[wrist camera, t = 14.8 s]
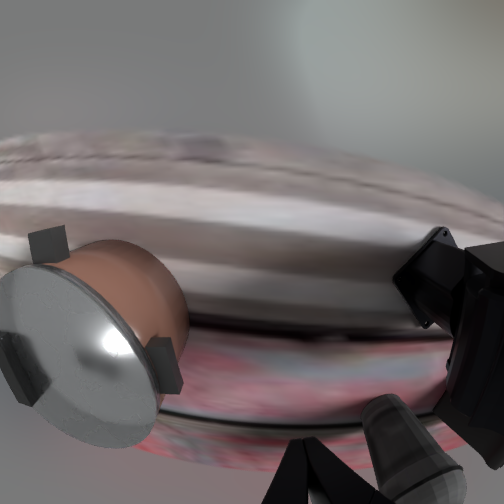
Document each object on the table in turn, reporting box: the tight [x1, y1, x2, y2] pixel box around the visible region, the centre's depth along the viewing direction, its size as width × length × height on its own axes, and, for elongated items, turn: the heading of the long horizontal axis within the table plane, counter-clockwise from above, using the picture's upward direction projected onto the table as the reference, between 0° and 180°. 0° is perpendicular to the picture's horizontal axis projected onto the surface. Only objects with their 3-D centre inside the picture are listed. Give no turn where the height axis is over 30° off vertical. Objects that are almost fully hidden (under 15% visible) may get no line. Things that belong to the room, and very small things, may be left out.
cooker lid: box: [0, 264, 160, 448], centre depth 12 cm, size 12×12×2 cm
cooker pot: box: [28, 225, 189, 409], centre depth 17 cm, size 13×16×8 cm
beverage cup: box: [361, 394, 467, 504], centre depth 13 cm, size 7×7×20 cm
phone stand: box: [433, 390, 504, 470], centre depth 17 cm, size 9×6×12 cm, turn 74°
